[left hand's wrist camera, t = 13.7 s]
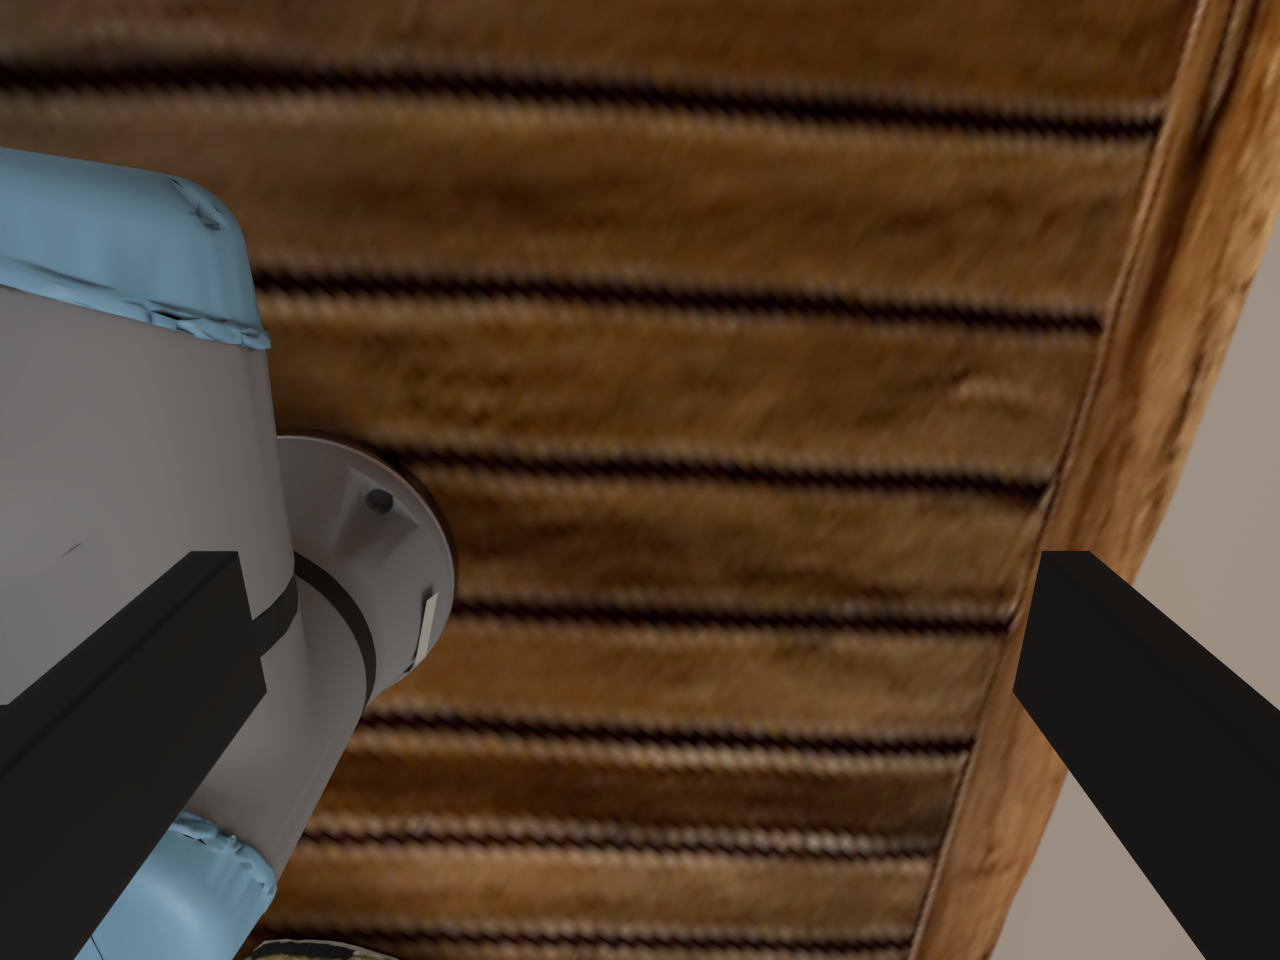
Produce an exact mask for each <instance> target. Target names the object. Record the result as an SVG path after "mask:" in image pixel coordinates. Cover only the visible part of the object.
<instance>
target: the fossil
mask: <svg viewBox="0 0 1280 960" xmlns="http://www.w3.org/2000/svg"><path fill="white" fill-rule="evenodd" d="M241 960H398V959H397V958H394V957H391V956H388V955H384V954H381V953H378V952H375V951H371V950H368V949H365V948H362V947H358V946H354V945H349V944H345V943H341V942H334V941H322V940H299V941H297V940H291V939H282V940H269V941H264V942H263V943H262V944H260V945H259V946H258V947H257V948H256V949H254V950H253V951H252V952H251V953H249V954H248V955H246V956H244V957H243V958H242V959H241Z"/></svg>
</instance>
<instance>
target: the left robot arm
mask: <svg viewBox="0 0 1280 960" xmlns="http://www.w3.org/2000/svg"><path fill="white" fill-rule="evenodd" d="M268 348H271V340H270V336H269V332H268V331H267V330H266V329H265V328H264V327H263V326H262V323H261V318H260V313H259V308H258V303H257V299H256V294H255V289H254V284H253V279H252V274H251V269H250V265H249V260H248V255H247V249H246V244H245V239H244V236H243V233H242V230H241V228H240V226H239V224H238V222H237V220H236V218H235V217H234V215H233V214H232V212H231V211H230V210H229V209H228V207H227V206H226V205H225V204H224V203H223V202H222V201H221V200H220V199H219V198H217V197H216V196H215V195H214V194H212V193H211V192H210V191H208V190H207V189H205V188H204V187H202V186H200V185H198V184H196V183H193V182H191V181H189V180H187V179H184V178H181V177H177V176H173V175H168V174H163V173H159V172H153V171H147V170H142V169H136V168H130V167H124V166H118V165H112V164H106V163H100V162H93V161H87V160H81V159H74V158H68V157H61V156H55V155H48V154H42V153H35V152H29V151H22V150H16V149H9V148H3V147H0V960H232V959H233V958H234V956H235V955H236V953H237V952H238V950H239V949H240V947H241V946H242V944H243V942H244V941H245V939H246V938H247V936H248V935H249V933H250V932H251V930H252V929H253V927H254V926H255V924H256V923H257V921H258V920H259V918H260V917H261V915H262V914H263V913H264V912H265V911H266V910H267V909H268V906H269V905H270V904H271V902H272V900H273V899H274V897H275V895H276V894H275V893H276V891H277V889H278V888H277V882H278V880H279V878H280V876H281V874H282V872H283V870H284V868H285V866H286V864H287V862H288V860H289V858H290V856H291V854H292V852H293V850H294V848H295V846H296V844H297V842H298V840H299V838H300V836H301V834H302V832H303V830H304V828H305V826H306V824H307V822H308V820H309V818H310V816H311V814H312V812H313V810H314V808H315V806H316V804H317V802H318V800H319V798H320V796H321V795H322V793H323V791H324V789H325V787H326V785H327V783H328V781H329V779H330V777H331V775H332V773H333V771H334V769H335V767H336V765H337V763H338V761H339V759H340V757H341V755H342V753H343V751H344V749H345V747H346V745H347V743H348V741H349V739H350V737H351V735H352V733H353V731H354V729H355V727H356V725H357V723H358V721H359V719H360V717H361V715H362V713H363V711H364V709H365V707H366V706H368V705H369V704H370V703H371V702H372V701H373V700H374V699H375V698H376V697H377V695H378V694H379V693H381V692H382V691H383V690H385V689H387V688H389V687H390V686H392V685H394V684H395V683H397V682H398V681H400V680H401V679H402V678H404V677H405V676H406V675H407V674H409V673H410V672H411V671H412V670H414V669H415V668H416V667H417V666H418V665H419V664H420V663H421V661H422V660H423V659H424V658H425V657H426V655H427V654H428V653H429V652H430V650H431V649H432V648H433V646H434V645H435V644H436V642H437V641H438V639H439V637H440V636H441V634H442V632H443V630H444V628H445V625H446V623H447V621H448V618H449V616H450V614H451V612H452V609H453V606H454V603H455V599H456V594H457V589H458V579H459V569H458V558H457V551H456V547H455V543H454V540H453V536H452V534H451V531H450V528H449V526H448V524H447V522H446V520H445V518H444V516H443V514H442V512H441V510H440V509H439V507H438V506H437V504H436V502H435V501H434V500H433V498H432V497H431V496H430V494H429V493H428V492H427V490H426V489H425V488H424V487H423V486H422V485H421V484H420V483H419V482H418V481H417V480H416V479H415V478H414V477H413V476H412V475H411V474H410V473H409V472H408V471H407V470H405V469H404V468H403V467H402V466H400V465H399V464H398V463H396V462H395V461H394V460H392V459H391V458H389V457H387V456H386V455H384V454H383V453H381V452H379V451H377V450H375V449H373V448H372V447H370V446H368V445H365V444H363V443H360V442H358V441H356V440H353V439H350V438H347V437H344V436H341V435H337V434H332V433H328V432H323V431H316V430H305V429H286V430H276V426H275V419H274V411H273V403H272V394H271V386H270V378H269V369H268V361H267V353H266V349H268ZM1013 693H1014V694H1015V696H1016V697H1017V698H1018V700H1019V701H1020V702H1021V704H1022V705H1023V707H1024V708H1025V709H1026V711H1027V712H1028V714H1029V715H1030V716H1031V718H1032V719H1033V720H1034V722H1035V723H1036V725H1037V726H1038V727H1039V729H1040V730H1041V732H1042V733H1043V734H1044V736H1045V737H1046V739H1047V740H1048V741H1049V743H1050V744H1051V745H1052V747H1053V748H1054V750H1055V751H1056V752H1057V754H1058V755H1059V757H1060V758H1061V759H1062V761H1063V762H1064V763H1065V765H1066V766H1067V768H1068V769H1069V770H1070V772H1071V773H1072V775H1073V776H1074V777H1075V779H1076V780H1077V782H1078V783H1079V784H1080V786H1081V787H1082V788H1083V790H1084V791H1085V793H1086V794H1087V795H1088V797H1089V798H1090V800H1091V801H1092V802H1093V804H1094V805H1095V806H1096V808H1097V809H1098V811H1099V812H1100V813H1101V815H1102V816H1103V818H1104V819H1105V820H1106V822H1107V823H1108V825H1109V826H1110V827H1111V829H1112V830H1113V831H1114V833H1115V834H1116V836H1117V837H1118V838H1119V840H1120V841H1121V843H1122V844H1123V845H1124V847H1125V848H1126V849H1127V851H1128V852H1129V854H1130V855H1131V856H1132V858H1133V859H1134V861H1135V862H1136V863H1137V865H1138V866H1139V868H1140V869H1141V870H1142V872H1143V873H1144V874H1145V876H1146V877H1147V879H1148V880H1149V881H1150V883H1151V884H1152V886H1153V887H1154V888H1155V890H1156V891H1157V892H1158V894H1159V895H1160V897H1161V898H1162V899H1163V901H1164V902H1165V904H1166V905H1167V906H1168V908H1169V909H1170V911H1171V912H1172V913H1173V915H1174V916H1175V917H1176V919H1177V920H1178V922H1179V923H1180V924H1181V926H1182V927H1183V929H1184V930H1185V931H1186V933H1187V934H1188V935H1189V937H1190V938H1191V940H1192V941H1193V942H1194V944H1195V945H1196V947H1197V948H1198V949H1199V951H1200V952H1201V954H1202V955H1203V956H1204V958H1205V959H1206V960H1280V711H1279V710H1278V709H1277V708H1276V707H1275V706H1273V705H1272V704H1271V703H1270V702H1269V701H1267V700H1266V699H1265V698H1264V697H1263V696H1261V695H1260V694H1259V693H1258V692H1257V691H1256V690H1254V689H1253V688H1252V687H1251V686H1250V685H1248V684H1247V683H1246V682H1245V681H1244V680H1242V679H1241V678H1240V677H1239V676H1238V675H1236V674H1235V673H1234V672H1233V671H1232V670H1230V669H1229V668H1228V667H1227V666H1226V665H1224V664H1223V663H1222V662H1221V661H1220V660H1218V659H1217V658H1216V657H1215V656H1214V655H1213V654H1211V653H1210V652H1209V651H1208V650H1207V649H1205V648H1204V647H1203V646H1202V645H1201V644H1199V643H1198V642H1197V641H1196V640H1195V639H1193V638H1192V637H1191V636H1190V635H1189V634H1188V633H1186V632H1185V631H1184V630H1183V629H1182V628H1180V627H1179V626H1178V625H1177V624H1176V623H1174V622H1173V621H1172V620H1171V619H1170V618H1168V617H1167V616H1166V615H1165V614H1164V613H1162V612H1161V611H1160V610H1159V609H1158V608H1156V607H1155V606H1154V605H1153V604H1152V603H1151V602H1149V601H1148V600H1147V599H1146V598H1145V597H1143V596H1142V595H1141V594H1140V593H1139V592H1137V591H1136V590H1135V589H1134V588H1133V587H1131V586H1130V585H1129V584H1128V583H1127V582H1125V581H1124V580H1123V579H1122V578H1121V577H1119V576H1118V575H1117V574H1116V573H1115V572H1114V571H1112V570H1111V569H1110V568H1109V567H1108V566H1106V565H1105V564H1104V563H1103V562H1102V561H1100V560H1099V559H1098V558H1097V557H1096V556H1094V555H1093V554H1092V553H1091V552H1090V551H1042V554H1041V559H1040V564H1039V568H1038V573H1037V578H1036V583H1035V587H1034V592H1033V597H1032V602H1031V607H1030V611H1029V616H1028V621H1027V626H1026V630H1025V635H1024V640H1023V645H1022V649H1021V654H1020V659H1019V664H1018V668H1017V673H1016V678H1015V683H1014V688H1013Z"/></svg>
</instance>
